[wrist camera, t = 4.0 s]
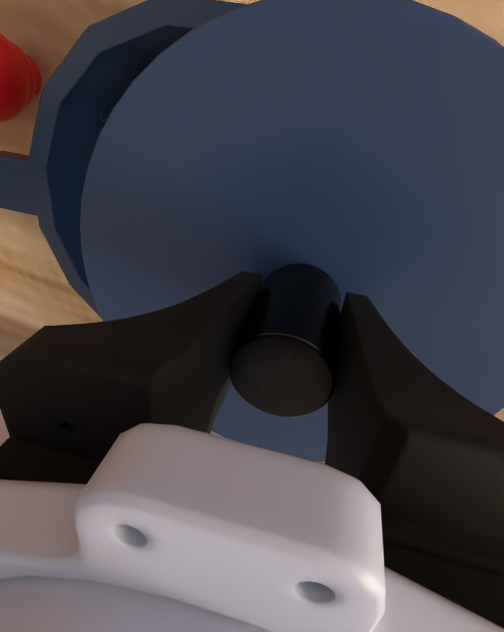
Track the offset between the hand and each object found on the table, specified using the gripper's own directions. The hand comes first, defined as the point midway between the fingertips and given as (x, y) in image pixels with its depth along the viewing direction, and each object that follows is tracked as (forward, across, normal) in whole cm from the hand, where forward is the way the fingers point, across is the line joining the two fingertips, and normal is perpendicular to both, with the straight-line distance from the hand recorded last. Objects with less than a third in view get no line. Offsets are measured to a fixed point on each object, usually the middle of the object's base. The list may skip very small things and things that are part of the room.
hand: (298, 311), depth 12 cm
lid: (+1, 0, 0) cm, 1 cm away
